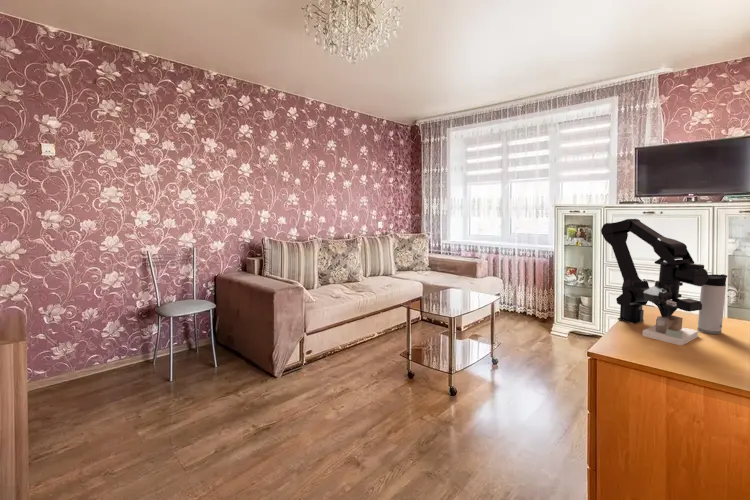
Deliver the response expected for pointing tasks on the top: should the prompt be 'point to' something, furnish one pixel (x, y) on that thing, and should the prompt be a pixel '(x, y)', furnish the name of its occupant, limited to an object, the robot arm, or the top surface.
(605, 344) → the top surface
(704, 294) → the travel mug
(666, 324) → the grey knobbed lever
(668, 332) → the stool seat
